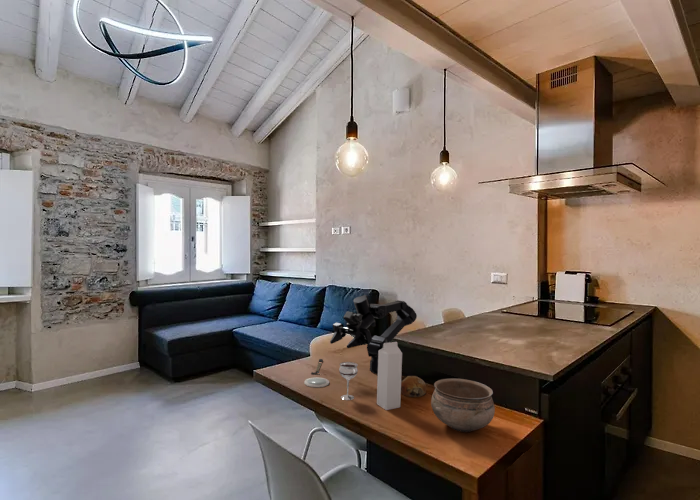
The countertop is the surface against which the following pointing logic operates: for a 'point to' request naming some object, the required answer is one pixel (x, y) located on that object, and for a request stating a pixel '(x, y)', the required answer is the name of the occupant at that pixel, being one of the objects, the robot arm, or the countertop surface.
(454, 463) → the countertop surface
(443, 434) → the countertop surface
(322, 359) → the tactical tomahawk
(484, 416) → the cooking pot
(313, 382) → the plate
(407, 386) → the bread roll
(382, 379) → the milk
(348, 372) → the wineglass
